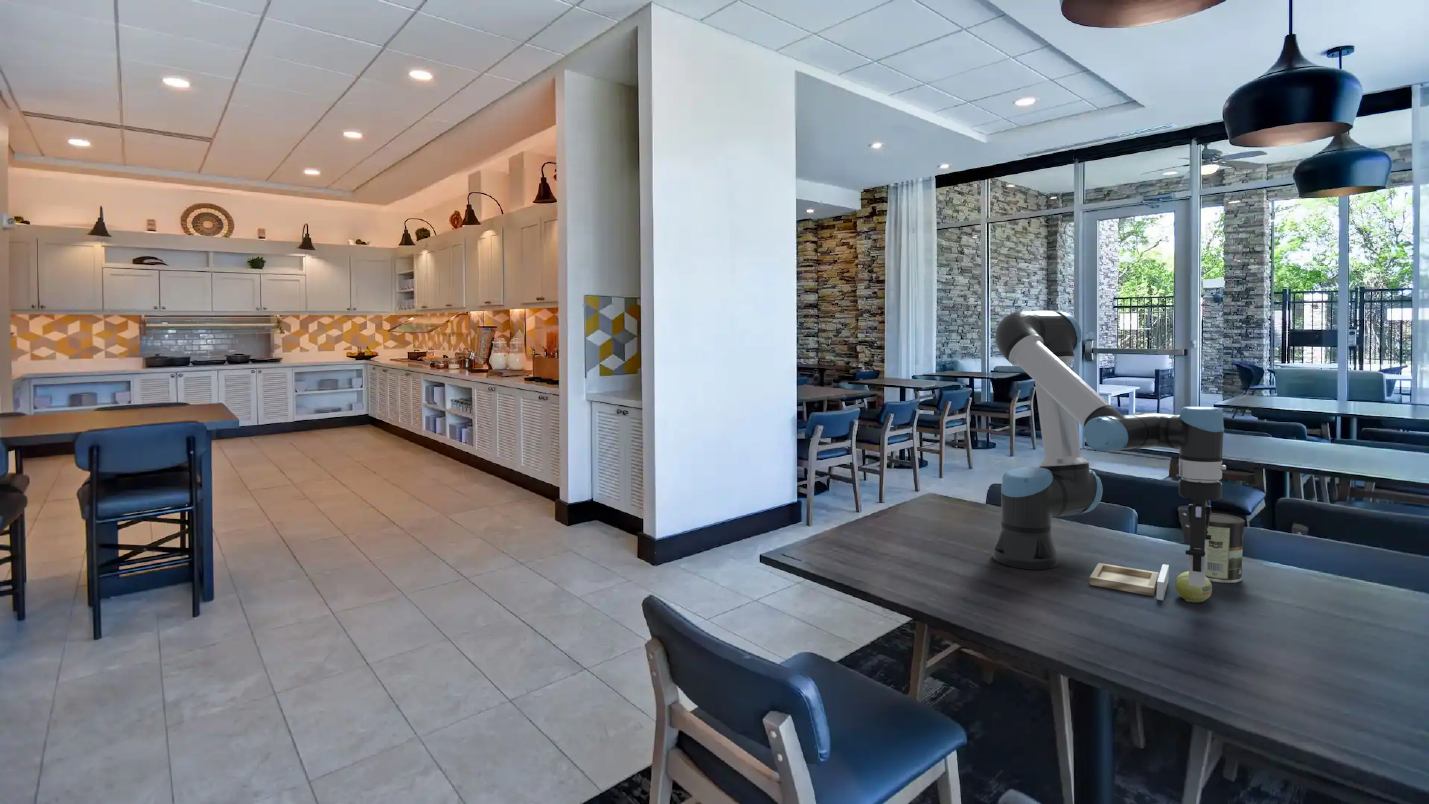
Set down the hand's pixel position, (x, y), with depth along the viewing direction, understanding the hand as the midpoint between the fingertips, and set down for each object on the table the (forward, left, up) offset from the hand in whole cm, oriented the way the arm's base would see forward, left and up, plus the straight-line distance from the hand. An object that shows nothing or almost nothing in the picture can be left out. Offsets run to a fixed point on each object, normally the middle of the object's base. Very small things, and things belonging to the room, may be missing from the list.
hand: (1198, 577), depth 147 cm
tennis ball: (-1, 0, -5) cm, 5 cm away
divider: (-6, +2, -5) cm, 8 cm away
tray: (-14, +3, -5) cm, 15 cm away
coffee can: (+3, +20, -5) cm, 21 cm away
